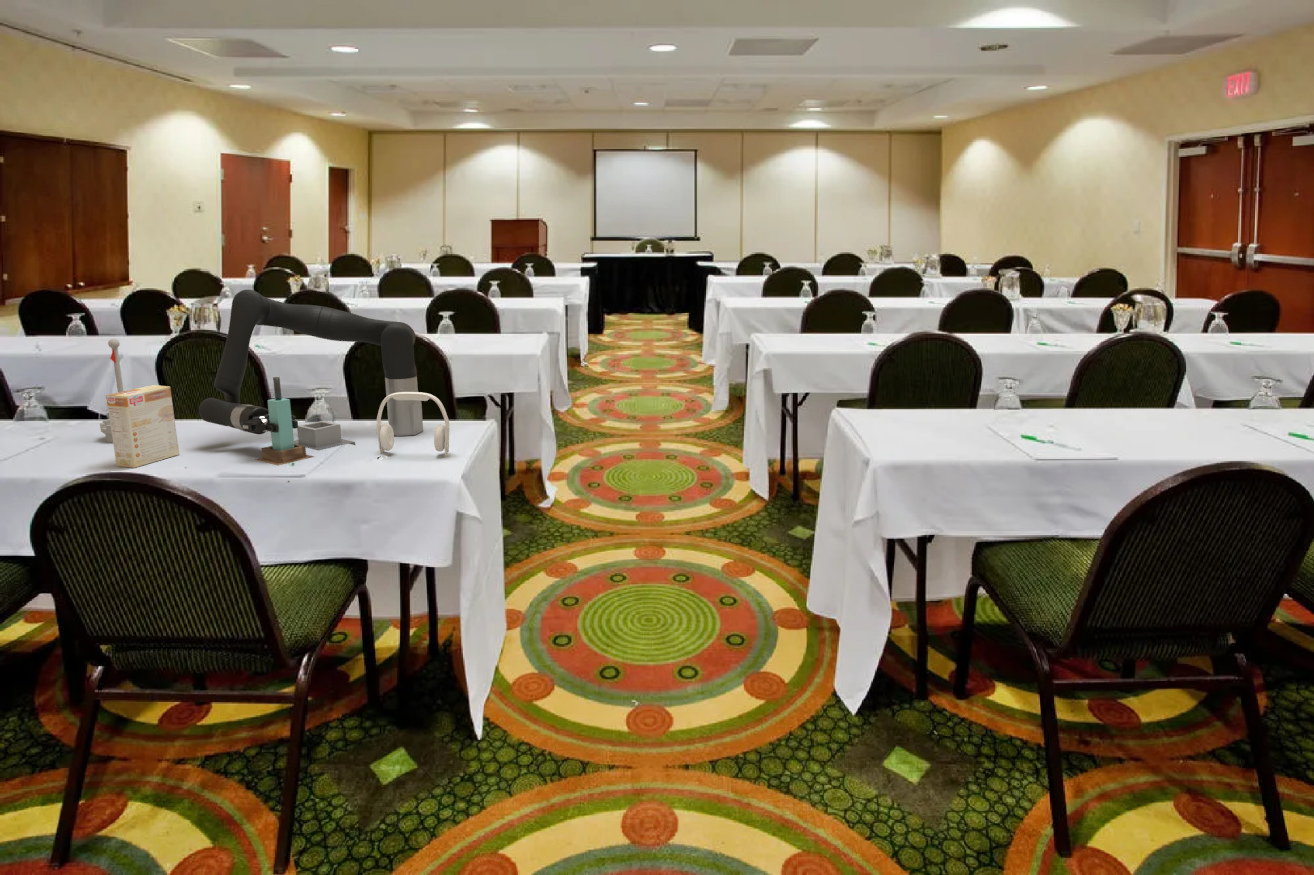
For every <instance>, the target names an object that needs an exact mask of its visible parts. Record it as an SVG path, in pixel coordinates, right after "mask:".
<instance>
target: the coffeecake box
mask: <svg viewBox="0 0 1314 875" xmlns="http://www.w3.org/2000/svg"><path fill="white" fill-rule="evenodd" d="M105 398H106V405H107V411H108V417H109V420H110V425H111V432H112V438H113V442H112V444H113V449H114V457H115V463H116V464H115V465H116V466H117V467H122V468H123V467H124V468H130V469H131V468H132V469H133V468H134V469H136V468H138V467H142V466H145V465H148V464H152V463H156V462H159V461H162V460H165V459H168V458H173V457H176V456H179V455H180V448H179V442H178V435H177V434H178V433H177V428H176V418H175V412H174V405H173V398H172V390H171V386H168V385H167V386H166V385H159V384H151V385H147V386H142V387H138V388H132V389H129V390H124V391H123V392H118V391H117V392H114V393H108V394H106V395H105Z"/></svg>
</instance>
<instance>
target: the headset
mask: <svg viewBox="0 0 1314 875" xmlns="http://www.w3.org/2000/svg"><path fill="white" fill-rule="evenodd" d="M390 398H393V399H395V400H419V401H421V402H423V401H424V402H427V401H428V400H432V401H434V402H435V403H436V405H437V406H438V407H439V409H440V412H441V414H442V417H443V420H444V424H443V423H442V424H438V425H436V427H435V430H434V433H433V445H434V446H433V447H434V449H435V450H436V451H437V452H442V451H444V458H446V457H447V456H448V454H449V451H450V420H449V417H448V415H447V412H446V408H445V407H444V405H443V403H442V401H441V400H440V399H439V398H438V397H437V396H435V395H433V394H431V393H427V392H421V391H420V392H419V391H418V392H398V393H393V394H390V395H388V396H387V397H384V399H383V400H382V401H381V403H380V405H379V409H378V411H377V412H378V413H377V416H376V423H375V428H376V435H377V441H378V448H379V449H378V450H379V451H378V453H377V455H380V456H377V459H381V457H382V456H381V454H382V453H383V452H385V451H388V452H389V451H390V450H392V449H393V448H394V444H395V435H394V433H393V429H392V427H391V425H389V423H383V424H382V420H381V419H382V415H383V410H384V407H385V406H386V404H387V401H388V400H389V399H390Z"/></svg>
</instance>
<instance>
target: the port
mask: <svg viewBox="0 0 1314 875" xmlns="http://www.w3.org/2000/svg"><path fill="white" fill-rule="evenodd" d="M296 429H297V430H296V431H297V439H296V440H295V439H294V444H298V445H302V446H305V448H306V449H311V450H314V451H322V450H323V451H324V450H327V449H332V448H336V447H339V446H340V447H341V446H343V445H344V446H345V445H348V444H349V445H352V446H353V445H354V446H356V441H354V440H353V441H352V440H347V439H343V438H342V431H341V430H342V429H341V424H340V423H335V422H330V421H326V420H321V421H315V422H310V423H306V424H301V425H298V428H296Z"/></svg>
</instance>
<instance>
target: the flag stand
mask: <svg viewBox="0 0 1314 875" xmlns="http://www.w3.org/2000/svg"><path fill="white" fill-rule="evenodd" d="M107 344H108V347H109V348H111V352H112V353H111V356H109V359H110V360H111V361H112V362H113V367H114V373H115V374H114V376H115V382H116V388H117V393H118V392H123V391H125V390H124V384H123V378H122V370H121V364H120V356H119V347H120V344H121V343H120V340H118V339H117V338H110V339H109V340H108V343H107ZM99 427H100V428H99V429H100V432H101V433H102V434H104V435H105V440H106V442H108V443H113V438H112V432H111V425H110V419H105V420H103V421H102V422H100V423H99Z"/></svg>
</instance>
